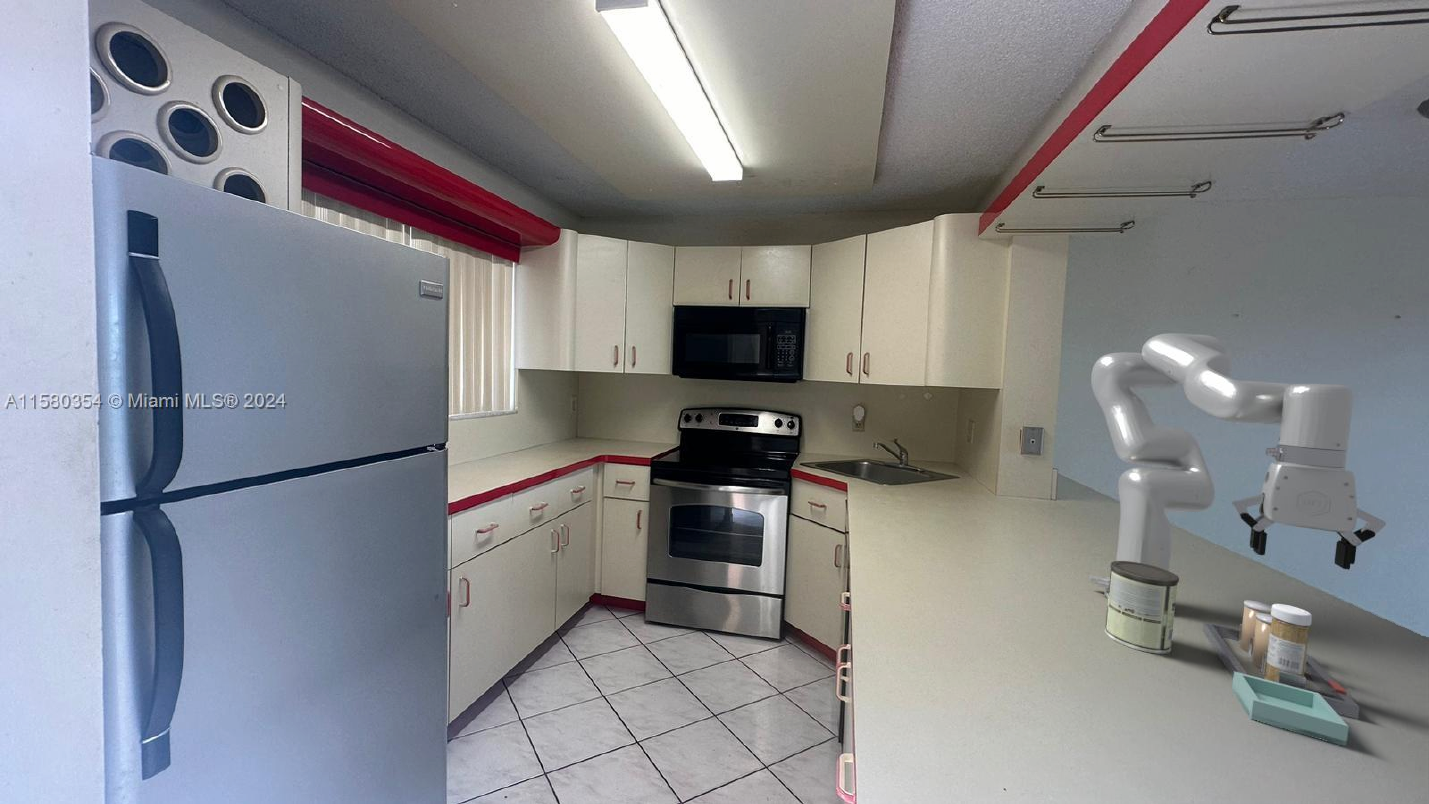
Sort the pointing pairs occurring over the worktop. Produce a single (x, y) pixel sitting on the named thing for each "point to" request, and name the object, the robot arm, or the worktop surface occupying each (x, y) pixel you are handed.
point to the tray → (1289, 708)
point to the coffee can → (1141, 606)
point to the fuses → (1256, 629)
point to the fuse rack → (1332, 689)
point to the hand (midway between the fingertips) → (1299, 559)
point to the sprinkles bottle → (1287, 641)
